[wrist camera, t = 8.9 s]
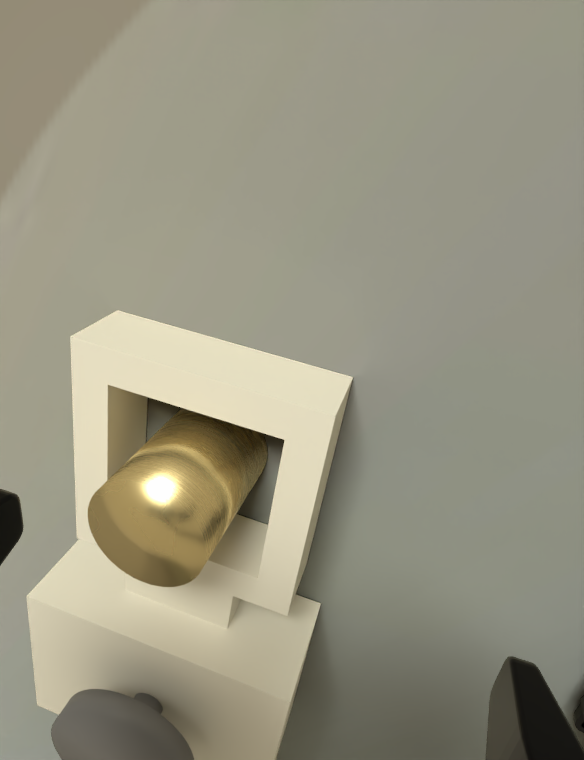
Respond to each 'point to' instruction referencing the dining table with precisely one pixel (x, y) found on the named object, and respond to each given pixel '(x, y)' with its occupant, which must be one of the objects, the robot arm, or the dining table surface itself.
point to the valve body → (215, 581)
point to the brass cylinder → (176, 497)
